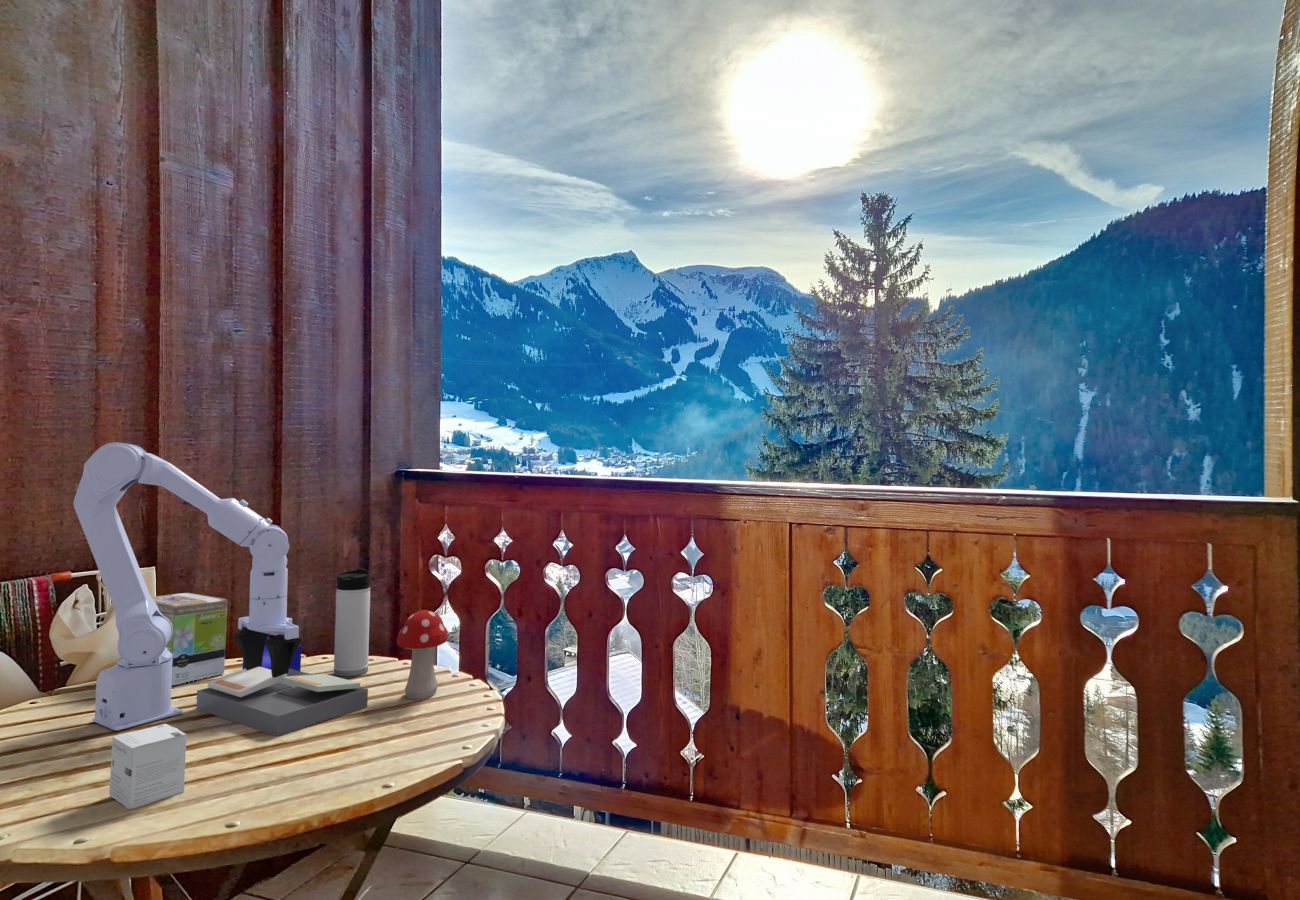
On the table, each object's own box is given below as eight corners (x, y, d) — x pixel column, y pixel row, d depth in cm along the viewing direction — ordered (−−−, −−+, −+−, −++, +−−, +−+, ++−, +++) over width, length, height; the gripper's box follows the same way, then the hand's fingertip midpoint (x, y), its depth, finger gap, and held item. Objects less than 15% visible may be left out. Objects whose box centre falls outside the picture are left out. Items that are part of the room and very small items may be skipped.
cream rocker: (240, 697, 113) (240, 691, 113) (207, 687, 118) (207, 682, 118) (287, 678, 120) (287, 673, 120) (254, 669, 125) (254, 664, 125)
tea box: (226, 674, 137) (229, 598, 137) (170, 688, 128) (173, 606, 128) (185, 662, 144) (188, 590, 145) (129, 674, 136) (132, 597, 136)
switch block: (277, 736, 106) (277, 715, 106) (196, 708, 117) (197, 689, 117) (394, 697, 125) (394, 679, 125) (314, 677, 136) (315, 660, 136)
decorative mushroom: (431, 705, 121) (433, 617, 122) (384, 701, 123) (387, 614, 123) (455, 687, 131) (457, 606, 131) (412, 684, 132) (414, 604, 133)
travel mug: (374, 668, 143) (377, 569, 143) (357, 677, 136) (361, 573, 137) (345, 666, 143) (348, 568, 144) (327, 676, 137) (330, 572, 137)
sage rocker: (317, 691, 113) (318, 686, 113) (281, 681, 117) (282, 676, 118) (359, 687, 119) (360, 682, 119) (323, 678, 124) (324, 673, 124)
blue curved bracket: (242, 671, 139) (243, 641, 139) (264, 666, 143) (265, 637, 143) (277, 682, 133) (279, 650, 133) (300, 676, 137) (301, 645, 137)
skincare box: (108, 797, 86) (110, 736, 86) (164, 779, 91) (166, 721, 91) (128, 811, 83) (131, 747, 83) (186, 792, 88) (188, 732, 88)
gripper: (315, 597, 122) (314, 676, 121) (266, 589, 129) (264, 663, 129) (276, 603, 116) (274, 687, 115) (226, 594, 123) (224, 673, 122)
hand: (266, 675), depth 121 cm, fingers open, 7 cm apart
